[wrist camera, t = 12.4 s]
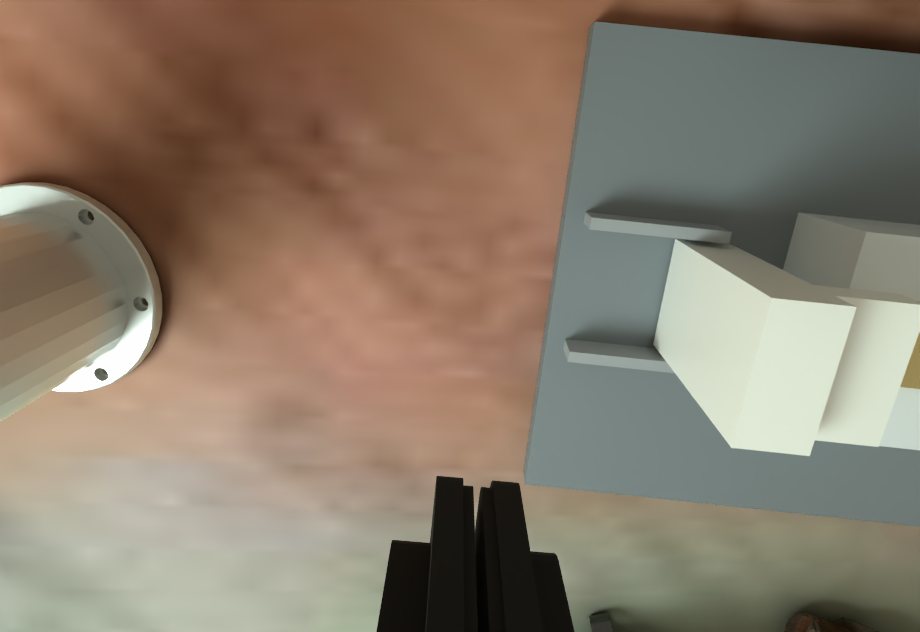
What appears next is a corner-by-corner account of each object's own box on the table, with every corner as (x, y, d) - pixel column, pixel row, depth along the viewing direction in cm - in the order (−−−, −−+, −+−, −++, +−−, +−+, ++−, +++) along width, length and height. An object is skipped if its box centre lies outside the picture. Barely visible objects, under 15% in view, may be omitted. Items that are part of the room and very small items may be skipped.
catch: (653, 344, 34) (731, 447, 23) (675, 238, 32) (771, 297, 21) (768, 356, 34) (901, 465, 23) (797, 251, 32) (956, 317, 21)
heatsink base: (523, 470, 38) (535, 577, 29) (589, 26, 30) (633, -15, 21) (1008, 522, 38) (1171, 646, 29) (1204, 87, 30) (1512, 73, 21)
